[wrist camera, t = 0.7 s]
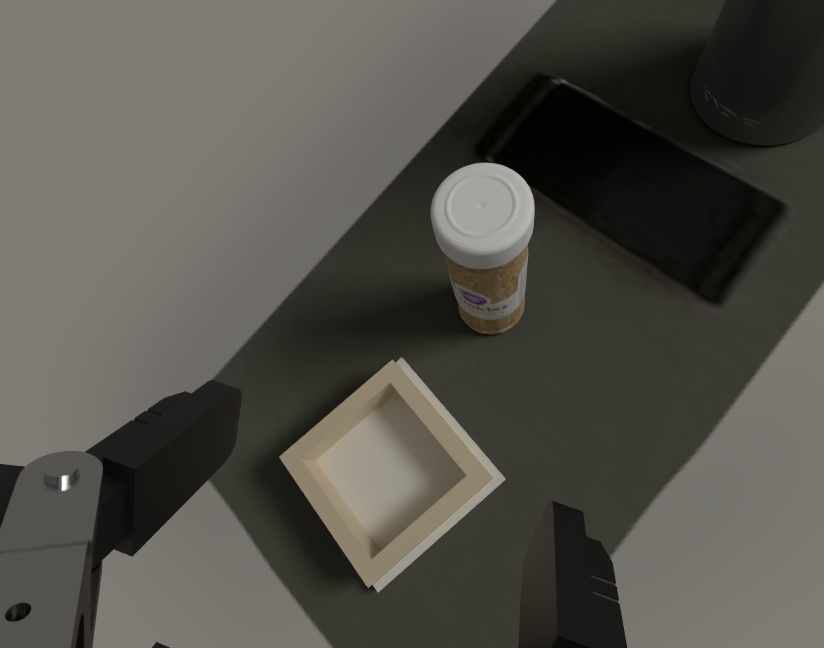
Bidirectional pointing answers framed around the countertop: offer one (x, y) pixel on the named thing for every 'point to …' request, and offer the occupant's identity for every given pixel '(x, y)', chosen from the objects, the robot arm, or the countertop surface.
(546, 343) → the countertop surface
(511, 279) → the sprinkles bottle
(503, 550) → the countertop surface
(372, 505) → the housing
